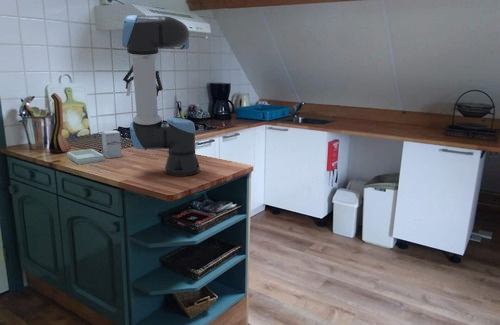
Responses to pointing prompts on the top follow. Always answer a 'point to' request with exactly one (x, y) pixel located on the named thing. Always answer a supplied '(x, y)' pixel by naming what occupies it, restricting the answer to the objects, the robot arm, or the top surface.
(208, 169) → the top surface
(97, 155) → the tray
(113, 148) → the supplement box
